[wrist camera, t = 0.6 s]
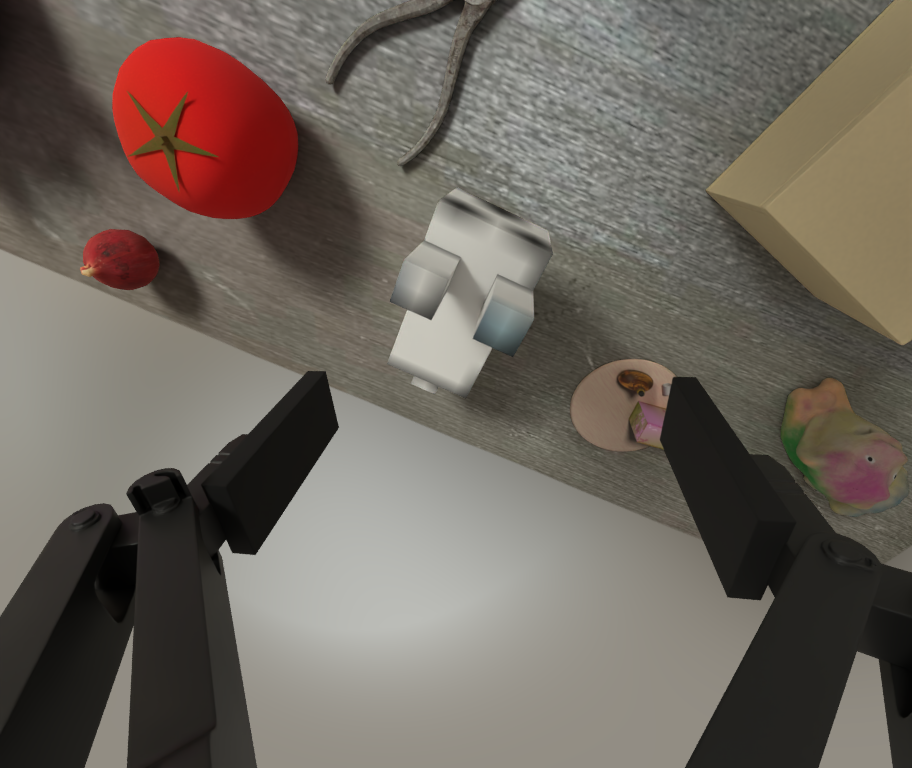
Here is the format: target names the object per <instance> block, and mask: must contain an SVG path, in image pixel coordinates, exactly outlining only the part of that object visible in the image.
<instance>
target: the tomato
mask: <svg viewBox="0 0 912 768" xmlns="http://www.w3.org/2000/svg"><path fill="white" fill-rule="evenodd" d="M112 109H113V115H114V121H115V125H116V129H117V132H118V136H119V139H120V142H121V145H122V147H123V150H124V152H125V154H126V156H127V158H128V160H129V163H130V164H131V166H132V167H133V169H134V170H135V172H136V173H137V174H138V175H139V176H140V177H141V178H142V179H143V180H144V181H145V182H146V183H147V184H148V185H149V186H150V187H152V188H153V189H154V190H156V191H157V192H158V193H160V194H162V195H163V196H165V197H166V198H168V199H169V200H171V201H172V202H174V203H175V204H177V205H179V206H181V207H182V208H184V209H186V210H188V211H190V212H194V213H197V214H200V215H204V216H208V217H212V218H221V219H240V218H247V217H251V216H255V215H258V214H260V213H262V212H264V211H266V210H267V209H269V208H270V207H271V206H272V205H273V204H274V203H275V202H276V201H277V200H278V199H279V197H280V196H281V195H282V193H283V191H284V190H285V188H286V186H287V184H288V183H289V181H290V179H291V176H292V174H293V172H294V169H295V165H296V161H297V154H298V134H297V130H296V127H295V123H294V120H293V118H292V116H291V114H290V112H289V110H288V109H287V107H286V106H285V104H284V103H283V101H282V100H281V98H280V97H279V96H278V95H277V94H276V93H275V92H274V91H273V90H272V89H271V88H270V87H269V86H268V85H267V84H266V83H265V82H264V81H263V80H262V79H261V78H259V77H258V76H257V75H256V74H254V73H253V72H252V71H251V70H249V69H248V68H247V67H246V66H245V65H243V64H242V63H241V62H239V61H238V60H236V59H235V58H233V57H232V56H230V55H228V54H227V53H225V52H223V51H221V50H219V49H216V48H214V47H212V46H210V45H207V44H205V43H202V42H200V41H198V40H195V39H188V38H181V37H176V38H164V39H156V40H150V41H148V42H147V43H145V44H143V45H141V46H139V47H138V48H136V49H135V50H134V51H133V52H132V53H131V54H130V55H129V56H128V58H127V59H126V60H125V62H124V63H123V64H122V66H121V67H120V69H119V72H118V76H117V80H116V84H115V87H114V91H113V106H112Z"/></svg>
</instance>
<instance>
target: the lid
mask: <svg viewBox="0 0 912 768" xmlns="http://www.w3.org/2000/svg"><path fill="white" fill-rule="evenodd" d="M760 208H761V209H762V210H763V211H764V212H765V213H766V214H767V215H768V216H769V217H770V218H771V219H772V220H773V221H774V222H775V223H776V224H777V225H778V226H779V227H780V228H781V229H782V230H783V231H784V232H785V233H786V234H787V235H788V236H789V237H790V238H791V239H792V240H793V241H794V242H795V243H796V244H797V245H798V246H799V247H800V248H801V249H802V250H803V251H804V252H805V253H806V254H807V255H808V256H809V257H810V258H811V259H812V260H813V261H814V262H815V263H816V264H817V265H818V266H819V267H820V268H821V269H822V270H823V271H824V272H825V273H826V274H827V275H828V276H829V277H830V278H831V279H832V280H833V281H834V282H835V283H836V284H837V285H838V286H839V287H840V288H841V289H842V290H843V291H844V292H845V293H846V294H847V295H848V296H849V297H850V298H851V299H852V300H853V301H854V302H855V303H856V304H857V305H858V306H859V307H860V308H861V309H862V310H863V311H864V312H865V313H866V314H867V315H868V316H869V317H871V318H872V319H873V320H874V321H875V322H876V323H877V324H878V325H879V326H880V327H881V328H882V329H883V330H884V331H885V332H886V333H887V334H888V335H889V336H890V337H891V338H892V339H893V340H894V341H895V342H897V343H898V344H900V345H905V344H906V343H908V342H909V341H911V340H912V67H911V68H910V69H909V70H908V71H906V72H905V73H904V74H903V75H902V76H901V77H900V78H899V79H898V80H897V81H896V82H894V83H893V84H892V85H891V86H890V87H889V88H888V89H887V90H886V91H885V92H884V93H883V94H881V95H880V96H879V97H878V98H877V99H876V100H875V101H874V102H873V103H872V104H871V105H870V106H868V107H867V108H866V109H865V110H864V111H863V112H862V113H861V114H860V115H859V116H858V117H856V118H855V119H854V120H853V121H852V122H851V123H850V124H849V125H848V126H847V127H846V128H845V129H843V130H842V131H841V132H840V133H839V134H838V135H837V136H836V137H835V138H834V139H833V140H832V141H830V142H829V143H828V144H827V145H826V146H825V147H824V148H823V149H822V150H821V151H820V152H818V153H817V154H816V155H815V156H814V157H813V158H812V159H811V160H810V161H809V162H808V163H807V164H805V165H804V166H803V167H802V168H801V169H800V170H799V171H798V172H797V173H796V174H795V175H793V176H792V177H791V178H790V179H789V180H788V181H787V182H786V183H785V184H784V185H783V186H782V187H780V188H779V189H778V190H777V191H776V192H775V193H774V194H773V195H772V196H771V197H770V198H769V199H767V200H766V201H765V202H764V203H763V204H762V205H761V206H760Z"/></svg>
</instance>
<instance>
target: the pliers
mask: <svg viewBox="0 0 912 768" xmlns="http://www.w3.org/2000/svg"><path fill="white" fill-rule="evenodd" d="M452 1H454V0H410V1H407V2H405V3H402V4H400V5H397V6H395V7H392V8H390V9H387V10H385V11H382V12H380V13H378V14H376V15H375V16H373V17H371V18H369V19H368V20H367V21H365V22H364V23H363V24H361V25H360V26H359V27H358V28H357V29H356V30H355V31H354V32H353V33H352V34H351V35H350V36H349V38H348V39H347V40H346V41H345V43H344V44H343V45H342V47H341V48H340V50H339V51H338V53H337V55H336V56H335V58H334V60H333V62H332V64H331V66H330V68H329V71H328V74H327V77H326V83H327V84H333V82H334V80H335V78H336V76H337V74H338V72H339V70H340V68H341V66H342V64H343V63H344V61H345V60H346V58H347V56H348V55H349V54H350V53H351V52H352V50H353V49H354V48H355V47H356V46H357V45H358V44H359V43H360V42H361V41H362V40H363V39H364V38H365V37H367V36H368V35H370V34H371V33H373V32H374V31H376V30H379V29H381V28H383V27H386V26H389V25H392V24H395V23H398V22H401V21H405V20H408V19H412V18H416V17H420V16H423V15H426V14H428V13H431V12H433V11H435V10H437V9H439V8H441V7H443V6H445V5H447V4H449V3H450V2H452ZM464 1H465V5H464V8H463V11H462V14H461V16H460V19H459V22H458V25H457V28H456V31H455V34H454V37H453V40H452V44H451V48H450V53H449V57H448V63H447V69H446V74H445V79H444V83H443V88H442V92H441V97H440V100H439V104H438V108H437V110H436V113H435V115H434V118H433V120H432V122H431V124H430V125H429V127H428V129H427V130H426V132H425V133H424V135H423V136H422V137H421V139H420V140H419V142H418V143H417V144H416V145H415V146H414V147H413V148H412V149H411V150H410V151H408V152H407V153H406V154H405V155H403V156H402V157H401V158H400V159H399V160H398V161H397V165H398V166H402V165H404V164H406V163H408V162H409V161H410V160H412V159H413V158H414V157H415V156H417V155H418V154H419V153H420V152H421V151H422V150H423V149H424V148H425V146H426V145H427V144H428V143H429V141H430V140H431V139H432V138H433V136H434V135H435V133H436V132H437V130H438V129H439V127H440V125H441V123H442V121H443V119H444V117H445V115H446V113H447V110H448V107H449V105H450V102H451V98H452V95H453V91H454V87H455V84H456V80H457V76H458V73H459V69H460V65H461V62H462V58H463V55H464V52H465V49H466V46H467V44H468V41H469V38H470V36H471V34H472V32H473V31H474V29H475V27H476V26H477V24H478V23H479V22H480V21H481V19H482V18H483V17H484V15H485V14H486V12H487V11H488V9H489V8H490V6H491V5H492V3H493V4H494V3H495V2H496V1H497V0H464Z"/></svg>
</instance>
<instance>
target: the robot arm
mask: <svg viewBox="0 0 912 768" xmlns="http://www.w3.org/2000/svg"><path fill="white" fill-rule="evenodd" d="M338 428H339V426H338V422H337V418H336V414H335V410H334V405H333V401H332V396H331V392H330V388H329V384H328V379H327V375H326V371H308V372H307V373H306V374H305V375H304V376H303V377H302V378H301V379H300V380H299V381H298V382H297V383H296V384H295V385H294V387H292V389H291V390H290V391H289V392H288V393H287V394H286V395H285V396H284V397H283V398H282V399H281V400H280V401H279V402H278V403H277V404H276V405H275V407H274V408H273V409H272V410H271V411H270V412H269V413H268V414H267V415H266V416H265V417H264V418H263V419H262V420H261V421H260V422H259V423H258V424H257V426H256V427H255V428H254V429H253V430H252V431H251V432H250V433H249V434H246V435H245V434H242V435H241V436H239V437H237V438H236V439H234V440H232V441H231V442H229V443H228V444H227V445H226V446H225V447H224V448H223V449H222V450H221V451H220V452H219V455H216V456H215V457H214V458H213V459H212V460H211V463H210V464H208V465H206V466H205V467H204V468H203V469H202V470H201V471H200V472H199V473H198V474H197V476H196V477H195V478H194V479H193V480H192V481H191V482H190V483H189V484H188V485H187V484H186V482H185V480H184V478H183V476H182V474H181V473H180V471H179V470H177V469H174V468H165V469H161V470H157V471H154V472H151V473H149V474H147V475H144V476H143V477H141V478H140V479H138V480H137V481H135V482H134V483H133V484H132V486H130V487H129V489H128V491H127V496H128V498H129V500H130V501H131V503H132V505H133V506H134V508H135V510H136V512H135V513H129V514H124V515H117V513H116V512H115V510H114V509H113V507H112V506H111V505H109V504H104V503H103V504H95V505H92V506H89V507H85V508H83V509H80V510H79V511H77V512H75V513H73V514H72V515H70V516H69V517H68V518H66V519H65V520H64V521H63V522H62V523H61V524H60V525H59V526H58V527H57V529H56V530H55V532H54V534H53V535H52V537H51V538H50V540H49V541H48V543H47V544H46V546H45V547H44V549H43V551H42V552H41V554H40V555H39V557H38V558H37V560H36V562H35V563H34V565H33V566H32V568H31V570H30V571H29V572H28V574H27V576H26V577H25V579H24V580H23V582H22V583H21V585H20V587H19V588H18V590H17V591H16V593H15V595H14V596H13V598H12V599H11V601H10V602H9V604H8V605H7V607H6V608H5V610H4V612H3V613H2V615H1V617H0V768H84V767H85V764H86V761H87V758H88V756H89V753H90V750H91V747H92V744H93V741H94V738H95V735H96V733H97V729H98V727H99V724H100V721H101V718H102V715H103V712H104V709H105V707H106V704H107V700H108V698H109V695H110V692H111V689H112V686H113V683H114V681H115V678H116V675H117V672H118V669H119V666H120V663H121V660H122V657H123V654H124V651H125V648H126V646H127V643H128V640H129V637H130V634H131V631H132V628H133V626H134V636H133V654H132V675H131V695H130V716H129V737H128V757H127V768H257V765H256V759H255V753H254V747H253V741H252V735H251V729H250V723H249V717H248V711H247V705H246V699H245V693H244V687H243V681H242V676H241V669H240V664H239V657H238V652H237V645H236V639H235V633H234V627H233V621H232V615H231V609H230V603H229V597H228V591H227V585H226V579H225V573H224V567H223V560H222V556H221V555H220V552H219V548H220V547H221V546H222V544H223V543H224V542H225V540H227V542H228V544H229V547H230V549H231V551H232V553H239V554H250V555H256V553H257V552H258V550H259V549H260V547H261V546H262V544H263V542H264V541H265V540H266V538H267V537H268V535H269V533H270V532H271V530H272V529H273V527H274V526H275V524H276V523H277V521H278V520H279V518H280V517H281V515H282V514H283V512H284V511H285V509H286V507H287V506H288V504H289V503H290V501H291V500H292V498H293V497H294V495H295V494H296V492H297V490H298V489H299V488H300V486H301V484H302V483H303V482H304V480H305V479H306V477H307V475H308V474H309V472H310V471H311V469H312V468H313V466H314V465H315V463H316V462H317V460H318V458H319V457H320V456H321V454H322V453H323V451H324V450H325V448H326V446H327V445H328V443H329V442H330V440H331V439H332V437H333V436H334V434H335V433H336V431H337V430H338ZM660 442H661V444H662V446H663V449H664V451H665V453H666V456H667V458H668V460H669V463H670V465H671V467H672V470H673V472H674V474H675V477H676V479H677V481H678V483H679V486H680V488H681V490H682V493H683V495H684V497H685V500H686V502H687V504H688V507H689V509H690V511H691V514H692V516H693V518H694V521H695V523H696V525H697V527H698V530H699V532H700V534H701V537H702V539H703V541H704V544H705V546H706V548H707V550H708V553H709V555H710V557H711V560H712V562H713V564H714V567H715V569H716V571H717V574H718V576H719V578H720V581H721V583H722V585H723V588H724V590H725V592H726V595H727V597H730V598H742V599H752V600H761V598H762V596H763V594H764V592H765V590H766V588H767V586H769V587H770V589H771V591H772V593H773V595H774V597H775V599H774V601H773V603H772V605H771V606H770V608H769V610H768V612H767V614H766V616H765V618H764V620H763V621H762V624H761V625H760V627H759V629H758V631H757V633H756V635H755V637H754V639H753V640H752V642H751V644H750V646H749V648H748V650H747V652H746V654H745V655H744V657H743V660H742V661H741V663H740V665H739V667H738V669H737V670H736V672H735V674H734V676H733V678H732V680H731V682H730V684H729V686H728V688H727V690H726V692H725V693H724V695H723V697H722V699H721V701H720V703H719V705H718V706H717V708H716V710H715V712H714V714H713V716H712V718H711V720H710V721H709V723H708V725H707V727H706V729H705V731H704V733H703V735H702V736H701V739H700V740H699V742H698V744H697V746H696V748H695V750H694V752H693V753H692V755H691V757H690V759H689V761H688V763H687V765H686V767H685V768H818V767H819V764H820V761H821V758H822V755H823V752H824V749H825V746H826V743H827V740H828V737H829V734H830V731H831V728H832V725H833V722H834V719H835V716H836V713H837V710H838V707H839V704H840V701H841V698H842V695H843V692H844V689H845V686H846V682H847V680H848V676H849V673H850V670H851V667H852V664H853V661H854V658H855V655H856V652H857V651H858V652H861V653H864V654H866V655H869V656H872V657H875V658H878V659H879V665H880V672H881V680H882V687H883V695H884V703H885V710H886V718H887V725H888V733H889V741H890V748H891V756H892V764H893V768H912V572H908V571H904V570H901V569H897V568H894V567H891V566H887V565H884V564H881V563H880V562H879V560H878V559H877V557H876V556H875V555H874V554H873V553H872V552H871V551H869V550H868V549H867V548H866V547H865V546H863V545H862V544H860V543H858V542H856V541H854V540H853V539H851V538H848V537H845V536H843V535H840V534H837V533H835V531H834V530H833V529H832V527H831V526H830V525H829V524H828V522H827V521H826V520H825V518H824V517H823V516H822V515H821V513H820V512H819V511H818V509H817V508H816V507H815V506H814V504H813V503H812V502H811V500H810V499H809V498H808V497H807V495H806V494H804V491H803V490H802V489H801V487H800V486H799V485H798V484H797V483H795V480H794V478H793V477H792V476H791V475H790V473H789V472H788V471H787V469H786V468H785V467H784V466H782V465H781V464H780V463H778V462H777V461H775V460H774V459H773V458H771V457H770V456H768V455H753V454H749V453H748V451H747V450H746V448H745V447H744V446H743V444H742V443H741V441H740V440H739V438H738V437H737V436H736V434H735V433H734V431H733V430H732V428H731V427H730V425H729V424H728V423H727V421H726V420H725V418H724V417H723V415H722V414H721V413H720V411H719V410H718V408H717V407H716V405H715V404H714V402H713V401H712V400H711V398H710V397H709V395H708V394H707V392H706V391H705V390H704V388H703V387H702V385H701V384H700V382H699V381H698V379H697V378H696V377H673V379H672V384H671V388H670V393H669V398H668V402H667V407H666V412H665V416H664V421H663V426H662V431H661V435H660Z"/></svg>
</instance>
